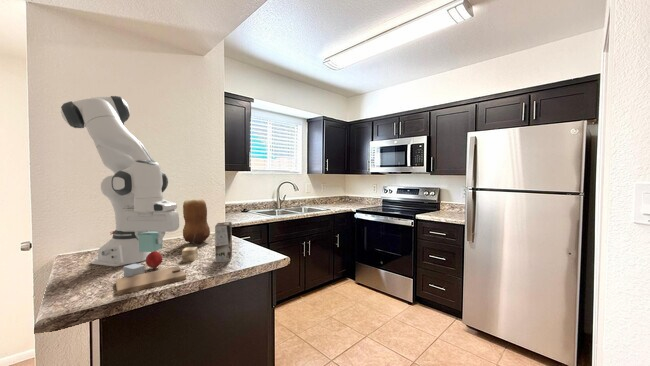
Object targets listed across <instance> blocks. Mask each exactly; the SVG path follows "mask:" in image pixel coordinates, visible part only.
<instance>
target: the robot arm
mask: <svg viewBox="0 0 650 366" xmlns="http://www.w3.org/2000/svg"><path fill="white" fill-rule="evenodd" d="M60 109H61V110H60V113H61V117H62V118H63V121H65V123H66V124H68V125H69V126H70V127H72V128H74V129H85V128H86V130H87V133H88V135H89V136H90V138H91V139H92V141H93V144H94V146H95V148H96V150H97V153H98V154H99V157H100V159H101V161H102V164H103V165H104V166H105V168H107V169H109V170H110V171H111V172H113V173H114V174H111V175H107V176H105V178H104V179H102V181H101V183H100V190H101V194H103V195H104V196H105V197H107V198H108V199H109V202H110V203H111V205H112V208H113V211H114V217H115V219H114V220H115V230H113V231H110V232H109V233H110V235H112V238H111V239H110V240H108V241H107V242H106V243H105V244H103V245H102V246H100V247H99V248H98V251H97V257H95V258H94V259H91V260H90V264H92V265H98V266H107V267H113V268H114V267H115V268H116V267H120V266H126V265H131V264H138V263H140V262H144V261H146V257H147V256H148V254H149V253H151V252H139V236H138V235H140V234H143V233H147V232H158V235H159V237H158V239H155V241H156V242H155V243H156V244H161V243H162V244H163V242H164V241H163V238H164V237H165V236H166V232H169V233H171V232H175V231H177V230H179V229H180V217H179V213H178V211H177V210H176V209H177V208H178V204H177V202H173V201H170V200H167V199H164V194H163V193H164V192H165V191H166V189H167V188H168V185H169V179H168V177H167V175H166V173H165V172H164V171H163V170H162V168H161V165H160V163H159V162H157V161H155V160H154V159H153V157H152V156H151V155H150V153H149V152H148V149H147V148H146V147H145V146H144V144H143V143H142V142H141V141H140V139H138V138H137V137H136V136H134V134H132V133H131V132H130V131H129V130H128V129H127V128H126V126H125V122H127V121H128V120H129V118H130V116H131V115H130V114H131V111H130V110H131V109H130V105H129V104H128V103H127V101H126V100H125V99H124V98H123V97H121V96H116V95H110V96H95V97H91V98H85V99H80V100H79V99H78V100H76V101H75V100H74V101H66V102H64V103H62V105H61V107H60Z"/></svg>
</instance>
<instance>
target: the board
mask: <svg viewBox="0 0 650 366" xmlns="http://www.w3.org/2000/svg"><path fill="white" fill-rule="evenodd" d="M183 280H187V274H186V273H185V272H184V271H183V270H182V269H181V267H180V266H174V267H173V266H172V267H168V268H164V269H163V268H162V269H158V270H153V271H150V272H149V271H148V272H145V273H143V274H139V275H134V276H129V277H124V276H123V277H120V278H116V279H115V287H116V292H117V293H116V295H117V296H120V295H124V294H129V293H133V292H137V291H141V290H145V289H149V288H154V287H158V286H162V285H167V284H171V283H174V282H178V281H179V282H180V281H183Z"/></svg>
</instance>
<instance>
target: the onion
mask: <svg viewBox="0 0 650 366" xmlns="http://www.w3.org/2000/svg"><path fill="white" fill-rule="evenodd" d="M162 262H163V256H162V254H161V252H159V251H158V250H156V251H154V252H150V253H149V254H148V256H147V257H146V260H145V263H146V265H147V266H148V267H149V268H152V269H153V270H154V269H155V270H156V269H157V268H158V267H159V266H160V265H161V264H162Z"/></svg>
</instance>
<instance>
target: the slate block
mask: <svg viewBox="0 0 650 366" xmlns="http://www.w3.org/2000/svg"><path fill="white" fill-rule="evenodd" d="M145 266H146V265H143V264H141V263H131V264H127V265H123V278H124V277H129V276H134V275H139V274H143V273H146V267H145Z"/></svg>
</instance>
